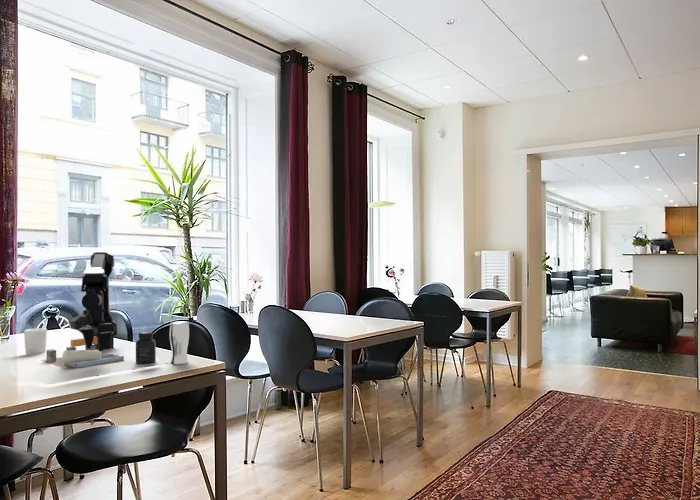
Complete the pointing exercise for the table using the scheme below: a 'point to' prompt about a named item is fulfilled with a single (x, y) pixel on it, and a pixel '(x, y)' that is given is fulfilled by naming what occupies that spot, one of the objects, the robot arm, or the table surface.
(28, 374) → the table surface
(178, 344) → the beer glass
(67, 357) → the off-white cylinder
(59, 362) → the board
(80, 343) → the tie bar
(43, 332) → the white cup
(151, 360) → the supplement bottle
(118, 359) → the tray
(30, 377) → the table surface
